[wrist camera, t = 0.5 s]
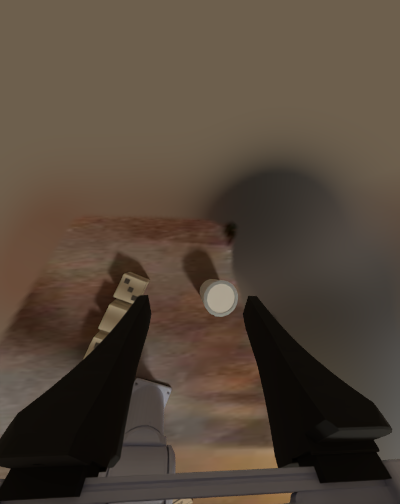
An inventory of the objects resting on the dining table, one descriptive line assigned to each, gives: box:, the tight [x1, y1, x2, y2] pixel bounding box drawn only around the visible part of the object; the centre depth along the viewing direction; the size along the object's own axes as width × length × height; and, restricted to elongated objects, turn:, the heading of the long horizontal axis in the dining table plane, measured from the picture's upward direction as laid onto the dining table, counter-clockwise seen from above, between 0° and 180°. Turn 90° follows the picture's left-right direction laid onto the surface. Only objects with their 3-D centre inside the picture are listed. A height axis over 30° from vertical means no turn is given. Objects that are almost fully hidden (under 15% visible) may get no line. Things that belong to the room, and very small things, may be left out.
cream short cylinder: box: [200, 279, 238, 317], centre depth 34 cm, size 7×7×7 cm
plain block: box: [98, 299, 132, 332], centre depth 32 cm, size 4×4×4 cm
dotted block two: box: [84, 330, 110, 358], centre depth 31 cm, size 4×5×5 cm
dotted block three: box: [113, 272, 150, 304], centre depth 32 cm, size 4×5×5 cm
